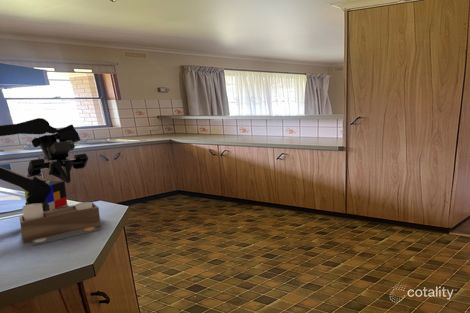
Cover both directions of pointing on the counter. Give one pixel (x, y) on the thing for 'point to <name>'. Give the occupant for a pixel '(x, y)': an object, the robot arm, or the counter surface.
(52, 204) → the puzzle toy
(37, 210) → the unmarked button
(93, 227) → the pattern card
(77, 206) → the beige cylinder
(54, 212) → the button console
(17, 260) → the counter surface
